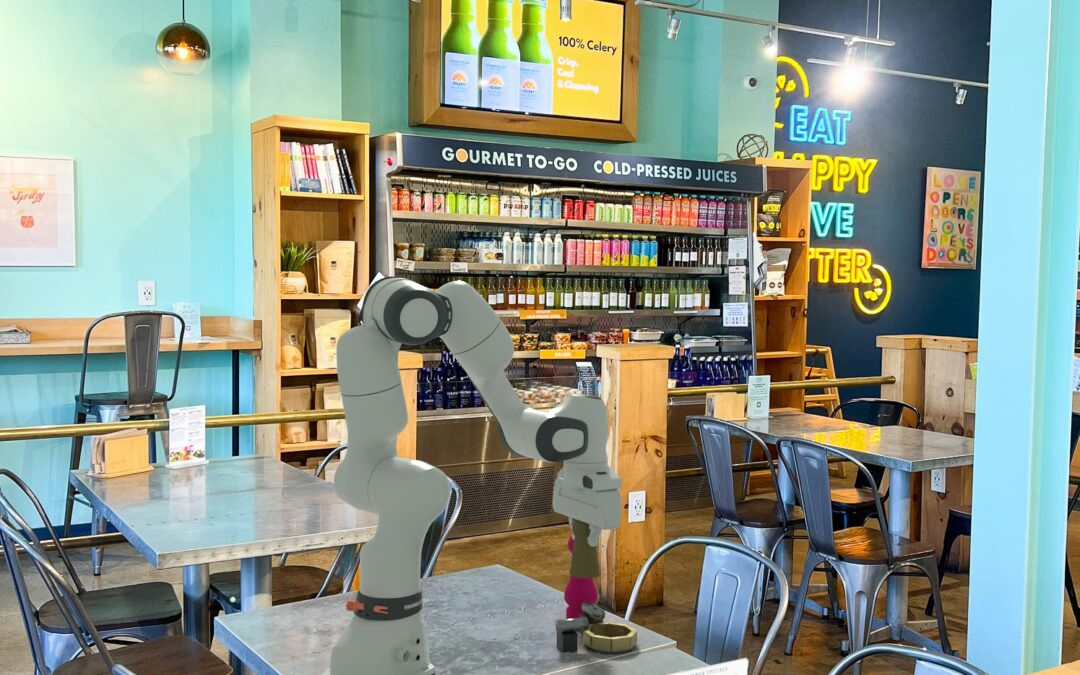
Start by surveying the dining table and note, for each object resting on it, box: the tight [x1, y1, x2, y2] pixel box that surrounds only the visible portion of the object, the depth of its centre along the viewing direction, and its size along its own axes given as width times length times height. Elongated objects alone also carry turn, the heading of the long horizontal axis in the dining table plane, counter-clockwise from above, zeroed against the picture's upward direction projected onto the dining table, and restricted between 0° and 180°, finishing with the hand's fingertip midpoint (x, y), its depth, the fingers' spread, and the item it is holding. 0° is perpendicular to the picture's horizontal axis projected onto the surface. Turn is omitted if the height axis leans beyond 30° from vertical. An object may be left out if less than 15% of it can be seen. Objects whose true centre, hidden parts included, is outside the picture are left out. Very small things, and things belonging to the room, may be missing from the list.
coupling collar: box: [582, 621, 638, 655], centre depth 208 cm, size 10×10×3 cm
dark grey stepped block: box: [555, 617, 589, 654], centre depth 206 cm, size 6×4×6 cm, turn 107°
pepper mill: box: [563, 534, 598, 619], centre depth 226 cm, size 7×7×20 cm
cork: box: [569, 520, 601, 579], centre depth 211 cm, size 6×6×11 cm
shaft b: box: [579, 601, 606, 634], centre depth 215 cm, size 6×4×6 cm, turn 22°
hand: (584, 542), depth 211 cm, fingers closed on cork, 4 cm apart
